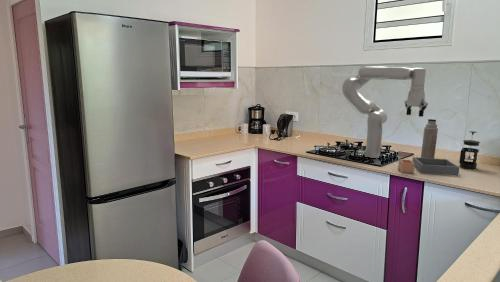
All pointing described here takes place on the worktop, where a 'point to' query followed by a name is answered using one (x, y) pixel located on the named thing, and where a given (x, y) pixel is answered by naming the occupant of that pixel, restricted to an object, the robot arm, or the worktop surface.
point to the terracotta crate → (406, 166)
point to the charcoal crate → (435, 166)
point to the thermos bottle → (429, 139)
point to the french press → (462, 161)
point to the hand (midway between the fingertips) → (414, 115)
